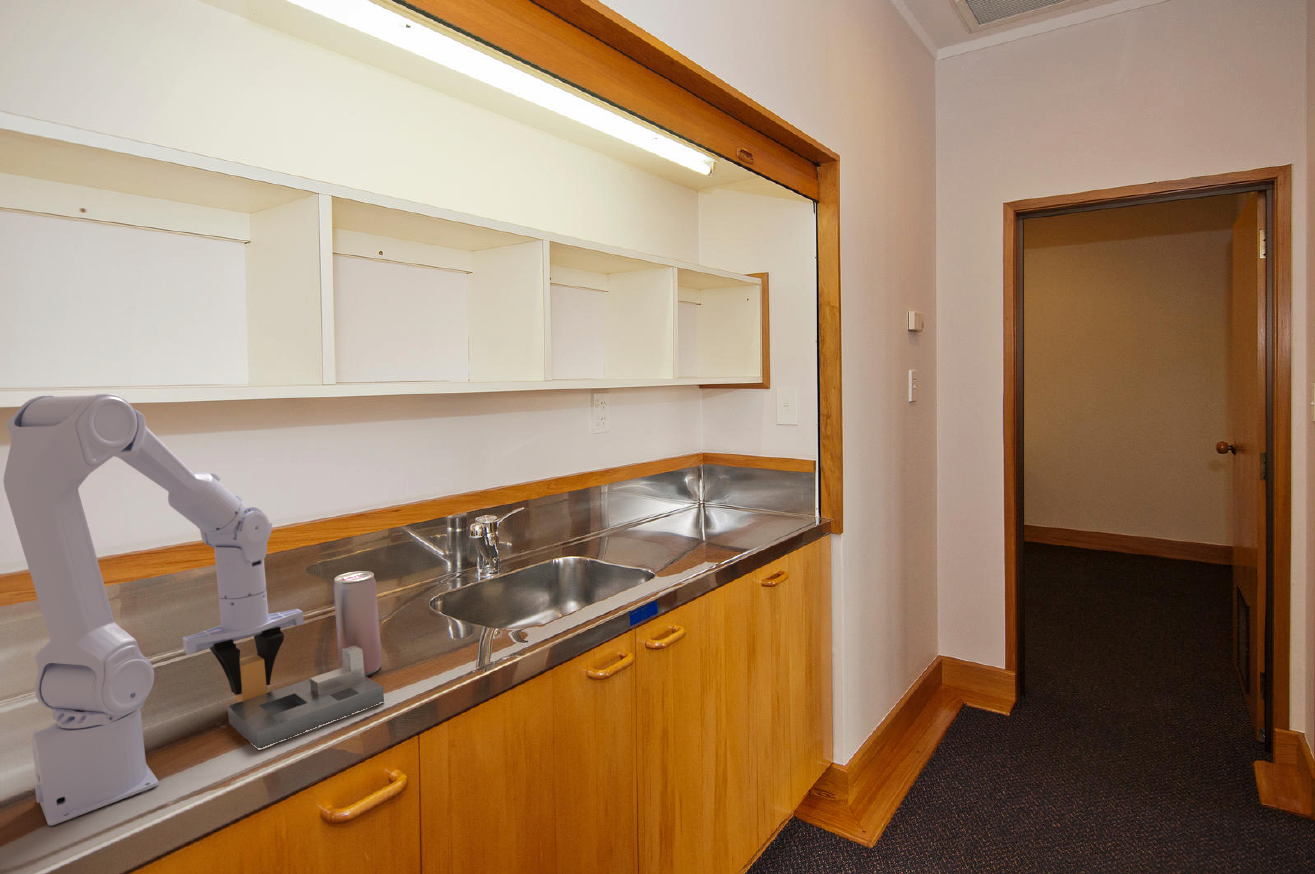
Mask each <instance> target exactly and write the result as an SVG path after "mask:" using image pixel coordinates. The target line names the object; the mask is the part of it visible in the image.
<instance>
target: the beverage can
mask: <svg viewBox="0 0 1315 874" xmlns="http://www.w3.org/2000/svg"><path fill="white" fill-rule="evenodd" d="M374 575H375V573H373V572H372V571H366V570H365V571H364V570H362V571H361V570H359V571H351V572H347V573H343V574H339V575H337V576H336V577H335V578H333V580H334V581H333V582H334V583H333V587H332V588H333V599H334V601H333V602H334V613H335V625H336V635H337V636H336V638H337V649H338V650H337V651H338V661H339V663H338V665H339V668H342V667H343V655H342V649H345V648H348V647H352V646H356V647H358V648H360V649H362V650H363V663H364V676H366V677H368V676H371V675H373V674H375V673H376V672H378V671H379V669H380V668H381V666H382V664H383V662H382V650H381V647H382V646H381V635H380V634H381V633H380V623H379V622H380V621H379V610H378V609H379V608H378V607H379V606H378V595H377V594H378V593H377V582H376V581H377V580H376V578H375V576H374Z"/></svg>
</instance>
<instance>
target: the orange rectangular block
mask: <svg viewBox="0 0 1315 874" xmlns="http://www.w3.org/2000/svg"><path fill="white" fill-rule="evenodd" d="M239 666H240V678H241V685H242V694H239V695H235V698H236V703H238V702H241V701H244V700H247V699H250V698H253V697H256V696H259V695H262V694H266V693H268V691H267V690H268V689H267V686H266V676H265V664H264V659H263V658H262V657H260V656H259V655H257V653H255V654H251V655H248V656H244V657H241V658H240V665H239Z"/></svg>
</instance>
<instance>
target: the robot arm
mask: <svg viewBox="0 0 1315 874" xmlns="http://www.w3.org/2000/svg"><path fill="white" fill-rule="evenodd" d="M146 422H147V421H146V416H145V414H143V413H141V412H140V411H138V410H137V409H135V408H133V406H132V405H131V403H130V402H129V401H127V399H125V398H124V397H122V396H120V395H118V394H113V393H97V394H95V395H94V394H93V395H67V396H64V395H63V396H54V395H39V396H36V397H33V398H31V399H29V400H27V401H26V402H24V403H23V404H22V405H21V406H20V407H19V408H18V409H17V410H16V412H15V413H14V414H12V416H11V417H10V418H9V419H8V420H7V421H6V423H5V426H6V427H5V428H6V430H7V434H8V437H9V441H10V447H9V451H8V456H7V461H6V465H5V471H4V474H3V488H4V491H5V493H6V498H7V502H8V504H9V508H10V510H11V511H10V512H11V514H12V517H13V521H14V525H15V528H16V530H17V534H18V537H19V540H20V544H21V548H22V551H23V554H24V557H25V560H26V564H27V568H28V571H29V574H30V577H31V580H32V581H31V582H32V583H33V587H34V591H35V594H36V597H37V600H38V605H39V608H40V610H41V614H42V618H43V620H44V623H45V626H46V627H45V628H46V630H47V633H48V637H49V641H48V642H47V643H46V644H45V645H44V646H43V647H42V648H41V649H40V650H39V651H38V652H37V653H36V654H35V656H34V659H35V661H36V664H37V676H36V680H35V684H34V686H35V687H34V693H35V697H36V699H37V702H38V703H39V704H40V705H41V706H43V707H44V708H47V709H49V710H51V711H52V713H51V715H52V719H53V720H54V721H55V722H54V723H53V724H52V725H50V726H48V727H45V728H43V729H40V730H37V731H35V732H33V733H32V735H31V742H32V743H31V744H32V753H33V760H34V761H33V763H34V769H35V778H36V785H35V786H34V789H35V790H34V791H35V799H36V802H37V804H40V807H41V810H42V812H43V815H44V817H45V818H44V819H45V820H46V823H47V825H48V826H55V825H58V824H60V823H63V822H65V821H68V820H71V819H73V818H77V817H79V816H81V815H84V814H87V813H89V812H92V811H94V810H97V809H100V808H102V807H105V806H107V805H110V804H113V803H116V802H119V801H121V800H124V799H127V798H128V797H132V796H135V795H137V794H139V793H143V792H145V791H147V790H150V789H152V788H155V787H157V786H158V785H159V779H158V778H157V777H156V775H155V774H154V773H153V770H152V769H151V768H150V766H149V765H148V764H147V761H146V752H145V751H146V750H145V742H144V732H143V731H144V730H143V723H142V713H141V712H142V711H141V709H142V708H143V707H144V706H145V700H146V699H147V698H148V696H149V695H150V693H151V691H152V688H153V686H154V681H155V670H154V667H153V664H152V662H151V661H150V659H148V658H147V657H146V656H144V654H143V653H142V651H140V648H139V644H138V641H137V640H136V638H134V637H133V636H132V635H130V634H129V632H127V631H126V630H125V629H123V628H122V627H120V626H119V625H118V624H117V623H116V622H115V619H114V615H113V612H112V608H111V605H110V601H109V598H108V593H107V590H106V586H105V582H104V579H103V575H102V572H101V568H100V565H99V561H98V558H97V557H98V556H97V553H96V551H95V546H94V544H93V540H92V535H91V532H90V528H89V523H88V522H87V518H86V514H85V513H86V512H85V511H84V506H83V503H82V500H81V496H80V492H79V487H80V486H81V484H83V482H84V481H85V480H86V479H87V477H88V476H89V475H90V474H92V473H93V472H95V470H97V469H99V468H100V467H102V465H104V464H106V463H107V462H108V461H109V460H110V459H112V458H113V457H115V458H118V459H120V460H121V461H122V462H124V463H126V464H127V465H129V466H130V467H132V468H133V469H135V470H136V471H137V472H139V473H140V474H142V475H143V476H145V477H146V478H148V479H149V480H150V481H153V483H154V484H157V485H158V486H160V487H161V488H162V489H164V490H165V491H166V492H168V496H167V500H168V504H169V506H170V507H171V508H172V509H174V510H175V511H176V512H177V513H179V514H180V515H181V516H183V517H185V518H186V520H188V521H189V522H191V524H193V525H195V526H196V527H197V528H198V529H199V531H200V536H201V539H202V542H203V543H204V545H206V546H209V547H211V548H213V550H214V551H213V552H214V560H215V572H216V583H217V594H218V604H219V617H220V625H217V626H214V627H212V628H209V629H207V630H203V631H200V632H198V633H194V634H191V635H188V636H187V635H186V636H183V637H182V645H183V647H182V648H183V652H184V653H185V654H186V655H188V656H189V655H193V654H197V652H198V651H202V650H206V649H209V650H210V651H211V652H212V654H213V656H215V659H217V661H218V662H219V664H220V666H221V668H222V670H223V671H224V674H225V676H226V678H227V680H228V684H229V687H230V691H231V693H233V694H234V696H236V695H239V694H242V685H241V678H240V666H239V665H240V659H241V658H240V657H241V649H239V648H238V647H237V643H235V642H236V641H240V640H243V639H247V638H251V637H253V639H254V643H255V648H256V654H257V655H259V656H260V657H262V658H263V659H264V664H265V676H266V687H267V686H269V685H271V680H272V678H271V677H272V673H273V668H274V664H275V661H276V659H277V655H278V653H279V650H280V649H281V645H282V644H283V642H284V639H285V634H284V632H282V630H281V629H286V628H289V627H291V626H301V625H304V611H303V610H300V609H299V608H294V609H290V610H285V611H284V610H283V611H279V612H274V613H269V606H268V604H269V603H268V591H267V581H266V570H265V558H266V556H267V554H268V541H269V540H270V537H271V535H272V530H273V523H272V522H270V521H269V517H268V516H267V515H266V513H264V512H263V510H262V509H259V508H258V507H255V506H254V507H251V506H246V504H245V503H244V502H243V499H242V498H241V496H239V495H235V494H234V493H232V492H231V491H230V490H229V489H228V488H227V487H225V485H223V484H222V483H221V482H220V480H221V477H219V476H218V474H216V473H214V472H213V473H210V472H206V471H195V472H193V471H192V470H191V468H189V467H188V466H187V464H185V463H184V462H183V461H182V460H181V459H180V458H179V457H178V456H177V455H176V454H175V453H174V452H173V451H172V450H170V448H169V447H168V446H167V445H165V443H164V442H162V440H161V439H160V438H159V437H158V436H157V435H155V434H154V433H153V431H151V430H150V428H149V427H148V426H147V423H146Z"/></svg>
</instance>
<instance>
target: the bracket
mask: <svg viewBox="0 0 1315 874" xmlns="http://www.w3.org/2000/svg"><path fill="white" fill-rule="evenodd" d="M342 655H343V667H342V668H340V667H339V668H337V669H334V670H331V671H327V672H325V673H324V672H323V673H321V674H318V675H315V676H313V677H309V679H310V685H311V691H312V692H313V693H315V694H316V695H318V696H320V695H322V694H325V693H328V692H331V691H334V690H337V689H340V688H342V687H345V686H348V685H351V684H354V683H357V682H360V681H362V680H365V676H364V663H363V650H362V649H360V648H358V647H356V646H352V647H348V648H345V649H342Z"/></svg>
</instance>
